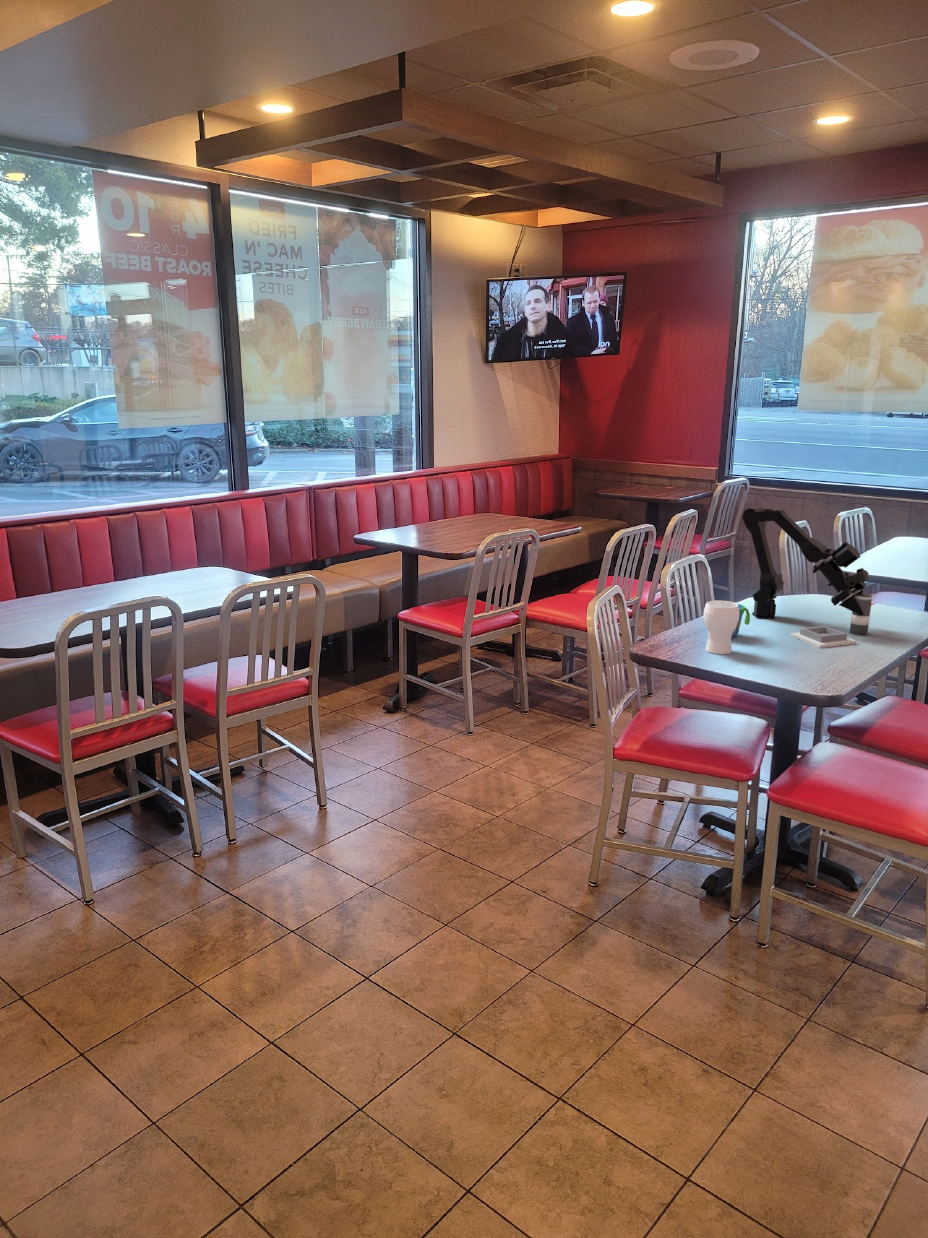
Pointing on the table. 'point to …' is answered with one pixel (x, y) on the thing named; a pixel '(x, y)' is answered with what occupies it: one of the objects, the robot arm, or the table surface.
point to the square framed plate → (823, 636)
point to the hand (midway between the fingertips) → (865, 613)
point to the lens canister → (862, 622)
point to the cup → (720, 625)
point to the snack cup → (747, 619)
